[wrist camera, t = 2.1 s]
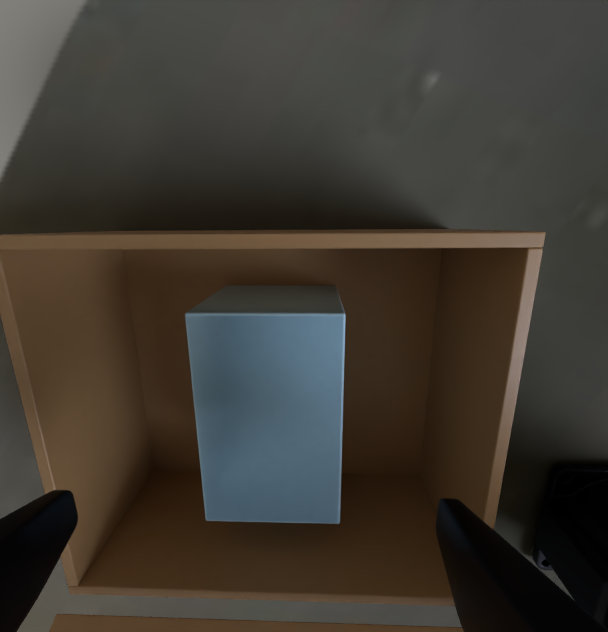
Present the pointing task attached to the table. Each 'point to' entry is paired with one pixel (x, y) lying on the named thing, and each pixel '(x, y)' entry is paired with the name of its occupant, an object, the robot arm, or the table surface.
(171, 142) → the table surface
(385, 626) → the flap
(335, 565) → the carton
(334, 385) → the case
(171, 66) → the table surface
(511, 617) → the robot arm
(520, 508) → the table surface
